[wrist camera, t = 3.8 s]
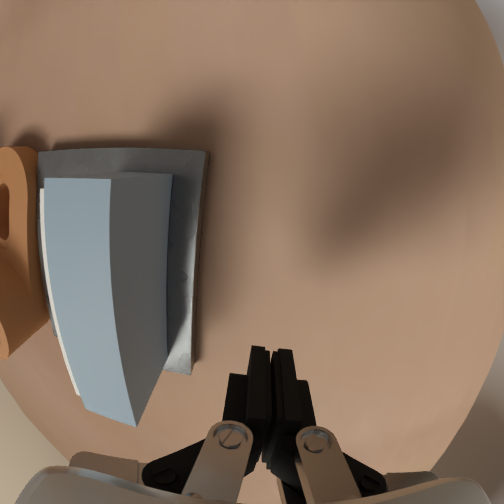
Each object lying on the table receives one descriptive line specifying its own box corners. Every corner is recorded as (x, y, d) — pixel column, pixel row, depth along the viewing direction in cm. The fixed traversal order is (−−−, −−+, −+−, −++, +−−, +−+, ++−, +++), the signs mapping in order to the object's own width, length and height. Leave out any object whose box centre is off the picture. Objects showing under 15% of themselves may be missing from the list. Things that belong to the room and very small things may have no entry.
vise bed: (210, 152, 16) (205, 151, 14) (194, 363, 21) (190, 375, 19) (50, 151, 16) (38, 151, 14) (62, 327, 20) (54, 335, 19)
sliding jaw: (172, 174, 15) (111, 179, 8) (167, 357, 19) (136, 427, 12) (110, 171, 15) (33, 178, 8) (117, 345, 18) (75, 404, 12)
